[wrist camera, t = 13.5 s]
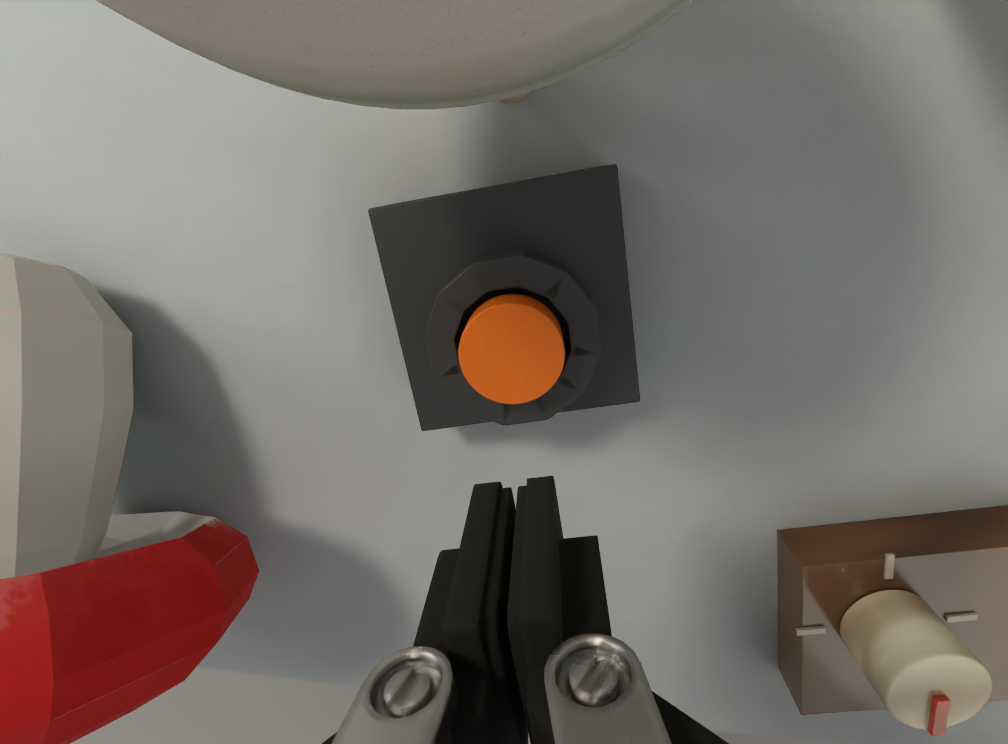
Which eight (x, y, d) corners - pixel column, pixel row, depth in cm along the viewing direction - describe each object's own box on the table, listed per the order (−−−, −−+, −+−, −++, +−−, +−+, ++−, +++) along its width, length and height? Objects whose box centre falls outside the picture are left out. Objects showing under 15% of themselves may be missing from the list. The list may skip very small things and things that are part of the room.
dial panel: (1017, 498, 28) (1073, 536, 26) (993, 651, 32) (1041, 700, 29) (771, 525, 30) (797, 564, 27) (773, 669, 33) (796, 718, 30)
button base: (607, 165, 24) (624, 162, 19) (628, 377, 27) (648, 419, 23) (387, 205, 25) (353, 212, 20) (433, 404, 28) (413, 450, 24)
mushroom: (-518, 241, 19) (-564, 871, 17) (-331, 72, 11) (-382, 1138, 10) (103, 318, 37) (107, 626, 35) (326, 272, 30) (344, 657, 28)
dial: (841, 592, 27) (894, 665, 23) (935, 585, 27) (1006, 658, 23) (836, 659, 29) (885, 739, 25) (926, 654, 28) (991, 734, 24)
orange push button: (555, 285, 21) (557, 295, 20) (569, 381, 23) (571, 397, 21) (455, 302, 22) (448, 312, 20) (473, 394, 23) (469, 411, 21)
